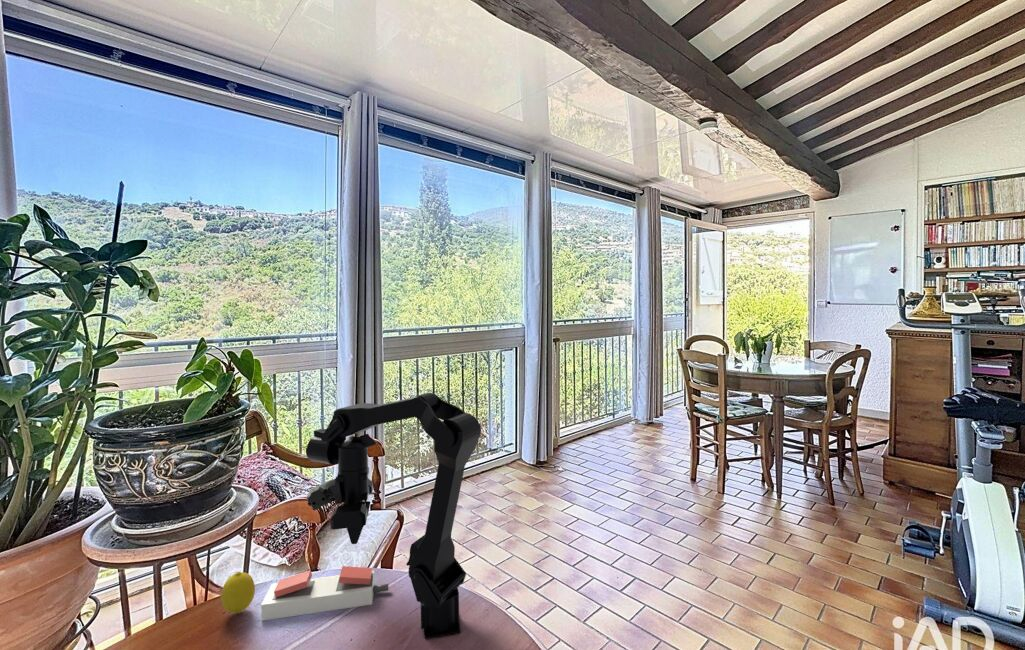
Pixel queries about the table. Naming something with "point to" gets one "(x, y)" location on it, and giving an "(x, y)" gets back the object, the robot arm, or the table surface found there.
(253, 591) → the lemon
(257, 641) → the table surface
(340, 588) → the power strip
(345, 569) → the block
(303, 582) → the block
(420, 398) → the robot arm
